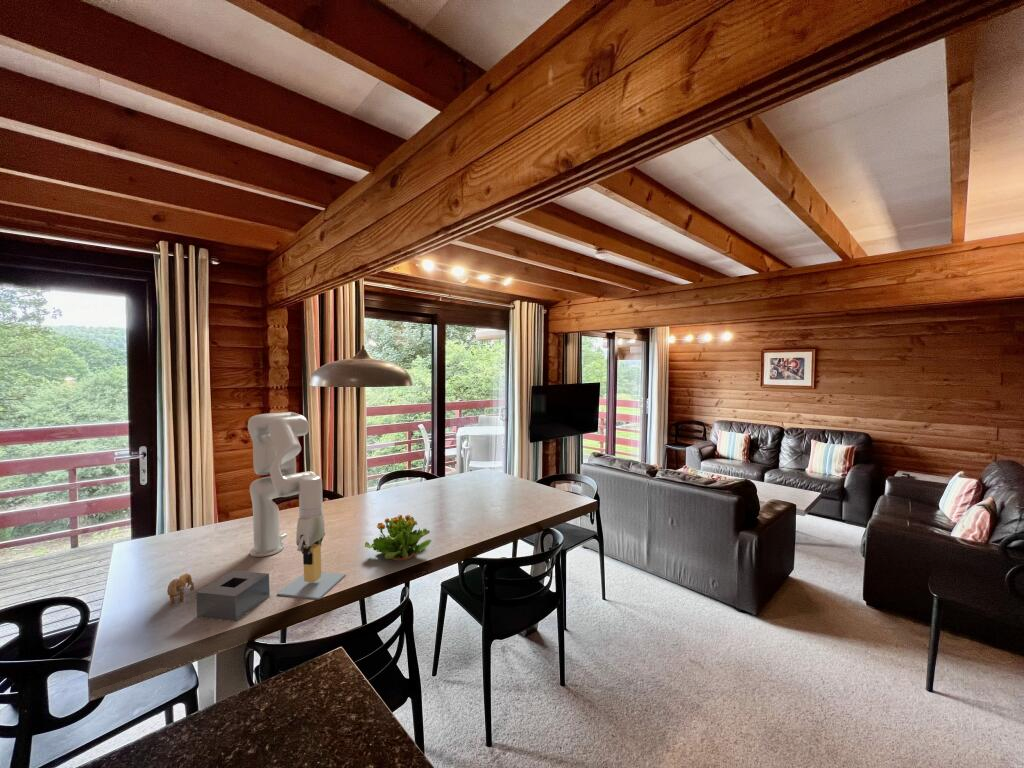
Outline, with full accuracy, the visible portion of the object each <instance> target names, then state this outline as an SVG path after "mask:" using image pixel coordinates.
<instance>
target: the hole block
mask: <svg viewBox="0 0 1024 768" xmlns="http://www.w3.org/2000/svg"><path fill="white" fill-rule="evenodd" d="M195 593H196V594H195V596H196V598H195V599H196V617H197V618H201V617H203V619H210V618H213V619H212V620H219V619H221V620H220V621H228V620H230V621H229V622H238V621H239V620H241V618H243V617H244V616H246V615H247V614H248V613H250V612H251V611H252V610H254V609H255V608H256V607H258V605H260V604H261V603H263V602H264V601H265V600H267V599H268V598H269V597H270V573H267V572H258V571H257V572H255V571H243V570H234V569H233V570H231V571H229V572H227V573H226V574H224V575H223V576H221V577H219V578H217V579H216V580H215V581H213V582H211V583H209V584H208V585H206V586H204V587H203V588H201V589H199V590H198V591H196V592H195ZM246 613H247V614H246ZM242 616H243V617H242Z"/></svg>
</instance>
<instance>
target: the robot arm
mask: <svg viewBox="0 0 1024 768" xmlns="http://www.w3.org/2000/svg"><path fill="white" fill-rule="evenodd" d="M309 424H310V423H309V421H308V419H307V418H306V417H305V416H303V415H302V414H299V413H296V412H293V411H285V412H284V411H283V412H275V413H274V412H269V413H260V414H255V415H253V416H251V417H249V419H248V421H247V430H248V433H249V435H250V438H251V441H252V442H251V443H252V458H253V460H252V463H253V470H254V473H255V474H256V475H258V476H265V475H269V476H265V477H260V478H257V479H255V480H253V481H252V482H251V483H250V485H249V494H250V498H251V503H252V504H251V505H252V522H253V547H252V548H251V549H250V550H249V555H250V556H251V557H255V558H256V557H257V558H260V557H261V558H264V557H267V556H272V555H275V554H278V553H279V552H281V551H283V549H284V548H285V544H284V542H282V541H283V540H284V539H286V538H287V537H288V536H287V533H285V532H284V533H282V534H280V508H279V506H278V504H276V502H274V501H273V499H277V498H287V497H292V496H295V495H298V508H299V510H298V511H299V516H298V519H297V525H296V535H295V537H296V538H295V539H296V546H297V549H296V550H297V551H298V552H300V553H301V554H302V557H303V558H302V561H303V565H304V564H307V565H311V564H312V553H311V547H312V544H321V546H322V545H323V544H322V541H323V538H324V537H325V536H326V533H325V531H326V529H325V517H324V513H323V512H324V511H323V505H324V504H323V479H322V476H319V475H317V474H316V473H315V472H314V471H302V472H297V458H296V456H298V455H299V454H300V453H301V452H302V446H301V444H300V441H299V439H298V437H302V436H307V434H308V433H309V430H310V425H309ZM306 547H308V549H306Z"/></svg>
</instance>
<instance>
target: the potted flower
mask: <svg viewBox="0 0 1024 768" xmlns="http://www.w3.org/2000/svg"><path fill="white" fill-rule="evenodd" d="M384 523H385V524H384ZM384 523H383V522H378V523H377V525H376V528H378V529H377V530H380V534H379V535H380V536H379V537H375V538H373V540H372V542H373V543H372V544H370V543H369V542H368V541H365V543H364V547H365V548H368V549H371V548H372V549H373V551H376V553H381V554H384V558H385V560H393V561H397V562H399V561H400V562H401V561H403V562H404V561H406V560H410V559H412V558H413V557H414V555H415V554H418V553H420V552H421V551H423V550H425V549H426V548H427V547H428V546H429V545H430V544H431V543H432V539H426V540H424V541H423V542H421V543H420V544H418V543H419V541H420V540H421V539H422V538H423V537H425V536H426V535H429V534H430V532H431V531H430V530H427V528H423V529H422V530H421V529H420V528H418V530H417V529H414V527H415V526H417V525H418V521H417V520H415V518H414V517H413V516H411V515H410V514H406V515H405V516H403V515H402V514H398V515H397V516H395V517H392V518H388V517H386V518H385V519H384ZM384 529H387V533H388V534H389V535H387V536H386V535H385V534H384V532H383V530H384Z"/></svg>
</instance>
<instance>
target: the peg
mask: <svg viewBox="0 0 1024 768" xmlns="http://www.w3.org/2000/svg"><path fill="white" fill-rule="evenodd" d="M321 544H322V543H321ZM321 544H312V547H311V553H312V564H311V565H307V564H303V574H304V581H305V582H315V581H317V580H318V579H319V578H320V577H321V572H322V552H321V551H322V550H321V549H322V548H321V547H322V545H321ZM306 549H308V547H306Z"/></svg>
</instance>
